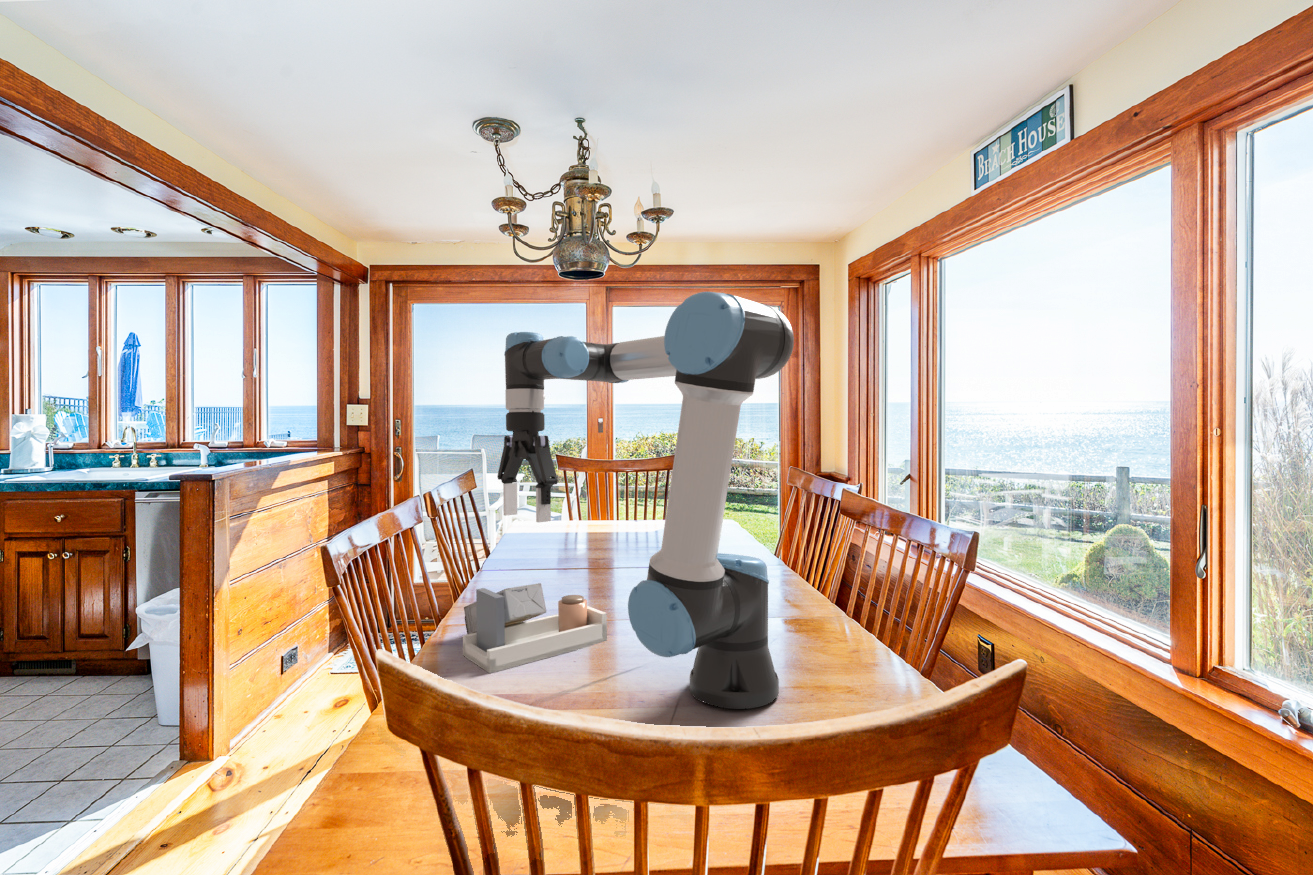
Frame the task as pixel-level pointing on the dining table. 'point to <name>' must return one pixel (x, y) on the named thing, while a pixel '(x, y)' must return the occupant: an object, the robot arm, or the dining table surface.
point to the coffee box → (513, 606)
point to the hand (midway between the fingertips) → (526, 518)
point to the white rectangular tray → (536, 641)
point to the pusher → (490, 619)
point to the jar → (572, 612)
